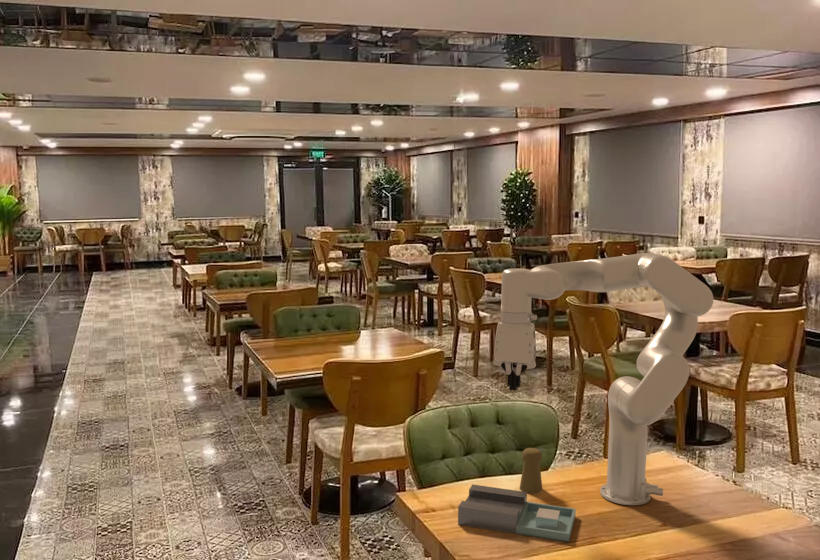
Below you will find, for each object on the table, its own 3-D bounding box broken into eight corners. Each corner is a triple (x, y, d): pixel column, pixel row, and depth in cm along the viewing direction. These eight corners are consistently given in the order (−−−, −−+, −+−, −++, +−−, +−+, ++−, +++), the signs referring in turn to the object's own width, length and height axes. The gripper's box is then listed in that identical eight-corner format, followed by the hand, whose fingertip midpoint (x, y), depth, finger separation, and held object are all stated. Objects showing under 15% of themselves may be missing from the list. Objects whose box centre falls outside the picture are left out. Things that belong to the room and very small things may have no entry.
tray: (575, 516, 178) (575, 508, 178) (568, 542, 165) (569, 534, 165) (526, 509, 182) (526, 501, 182) (516, 533, 169) (516, 525, 168)
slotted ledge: (526, 509, 182) (527, 492, 181) (516, 533, 169) (516, 515, 168) (472, 501, 186) (472, 484, 186) (457, 524, 173) (458, 506, 172)
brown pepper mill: (542, 494, 191) (543, 454, 189) (519, 492, 192) (520, 452, 191) (542, 485, 197) (544, 446, 195) (520, 483, 198) (521, 444, 197)
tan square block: (539, 507, 176) (538, 517, 176) (536, 516, 171) (535, 526, 172) (559, 510, 174) (559, 520, 175) (557, 519, 170) (557, 529, 170)
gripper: (547, 317, 183) (545, 388, 186) (489, 313, 188) (488, 382, 190) (543, 322, 176) (541, 396, 179) (483, 318, 181) (481, 390, 183)
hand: (513, 389), depth 185 cm, fingers closed
